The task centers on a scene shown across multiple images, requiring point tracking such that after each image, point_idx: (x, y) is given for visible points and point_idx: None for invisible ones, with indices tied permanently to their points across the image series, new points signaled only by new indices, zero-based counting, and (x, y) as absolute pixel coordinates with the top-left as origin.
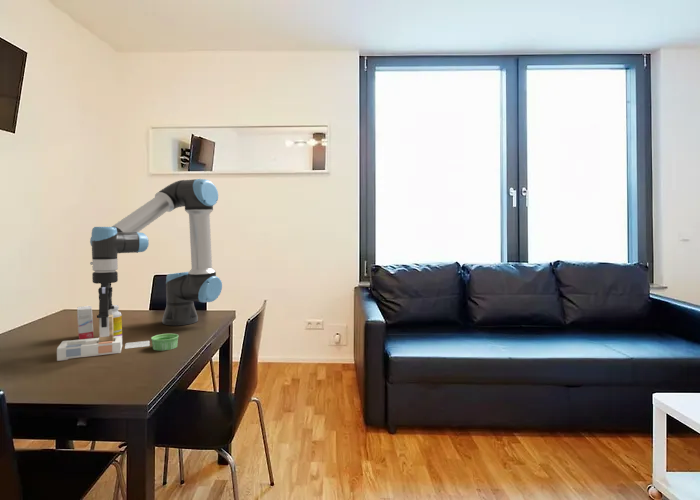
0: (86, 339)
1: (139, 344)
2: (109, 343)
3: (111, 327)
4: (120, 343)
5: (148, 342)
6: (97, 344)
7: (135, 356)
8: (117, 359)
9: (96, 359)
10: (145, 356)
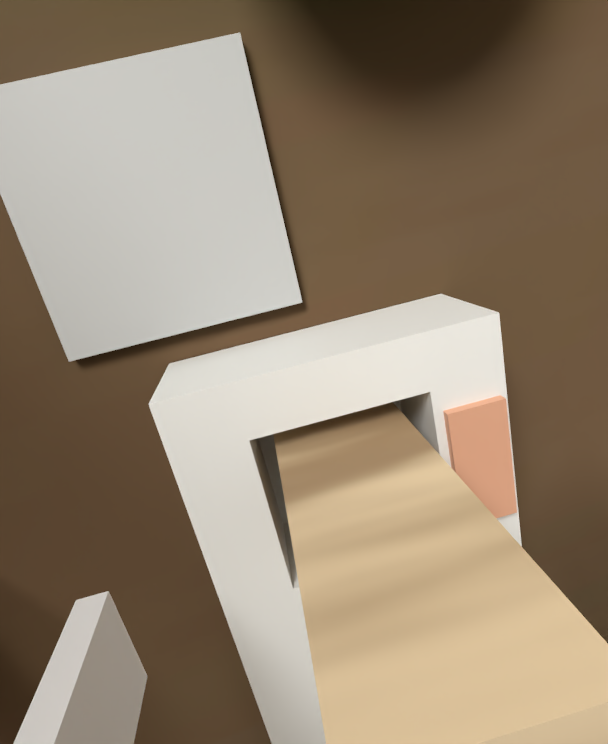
0: (277, 684)
1: (150, 185)
2: (508, 416)
3: (493, 525)
4: (485, 311)
5: (62, 87)
6: (513, 513)
7: (566, 122)
8: (602, 268)
9: (541, 433)
10: (603, 10)
